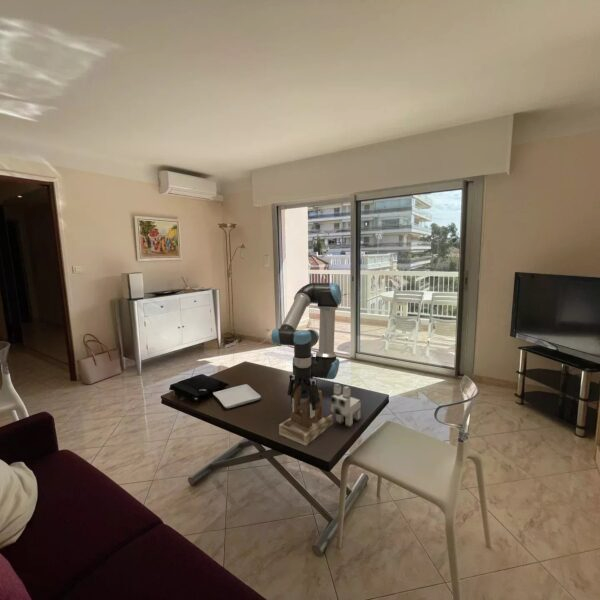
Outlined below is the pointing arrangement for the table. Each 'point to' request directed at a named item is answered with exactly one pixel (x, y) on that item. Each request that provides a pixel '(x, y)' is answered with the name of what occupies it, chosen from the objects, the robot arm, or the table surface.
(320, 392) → the tall brown block
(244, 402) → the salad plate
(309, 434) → the tray
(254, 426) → the table surface
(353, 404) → the toy llama
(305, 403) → the brown wooden figure
